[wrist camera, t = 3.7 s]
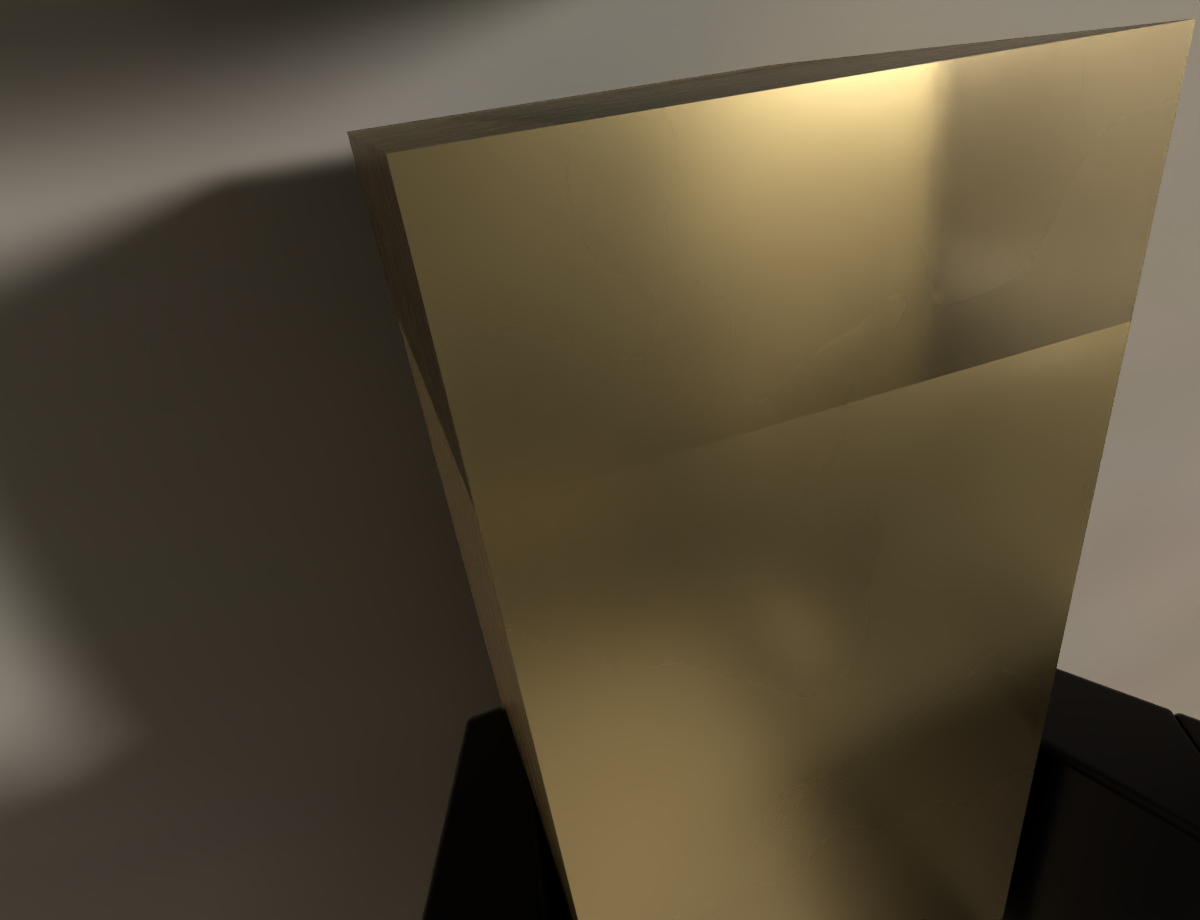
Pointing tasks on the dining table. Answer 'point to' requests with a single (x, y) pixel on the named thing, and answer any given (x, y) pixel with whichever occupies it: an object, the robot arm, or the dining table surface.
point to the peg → (781, 448)
